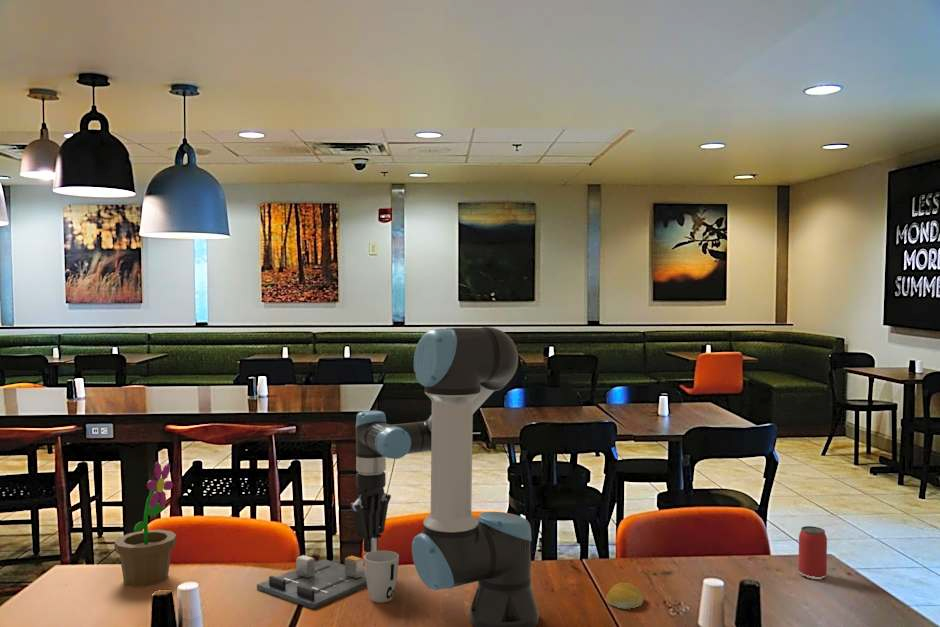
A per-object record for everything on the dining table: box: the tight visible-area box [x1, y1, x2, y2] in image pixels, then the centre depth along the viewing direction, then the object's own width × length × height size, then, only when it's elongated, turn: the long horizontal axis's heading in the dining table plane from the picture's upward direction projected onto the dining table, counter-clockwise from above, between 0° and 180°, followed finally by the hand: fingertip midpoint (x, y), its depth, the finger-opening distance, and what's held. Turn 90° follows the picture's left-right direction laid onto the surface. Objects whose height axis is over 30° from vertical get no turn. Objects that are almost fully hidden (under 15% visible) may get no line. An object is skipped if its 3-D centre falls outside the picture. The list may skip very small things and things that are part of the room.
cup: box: [363, 550, 400, 603], centre depth 179 cm, size 8×8×10 cm
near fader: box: [344, 555, 364, 578], centre depth 190 cm, size 4×2×4 cm, turn 54°
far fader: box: [295, 554, 315, 578], centre depth 190 cm, size 4×2×4 cm, turn 54°
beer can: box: [798, 525, 828, 577], centre depth 195 cm, size 7×7×12 cm
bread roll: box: [605, 582, 644, 610], centre depth 178 cm, size 8×9×4 cm
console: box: [256, 558, 367, 610], centre depth 188 cm, size 20×22×3 cm
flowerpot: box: [113, 461, 177, 587], centre depth 191 cm, size 14×14×30 cm
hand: (370, 563), depth 195 cm, fingers closed
